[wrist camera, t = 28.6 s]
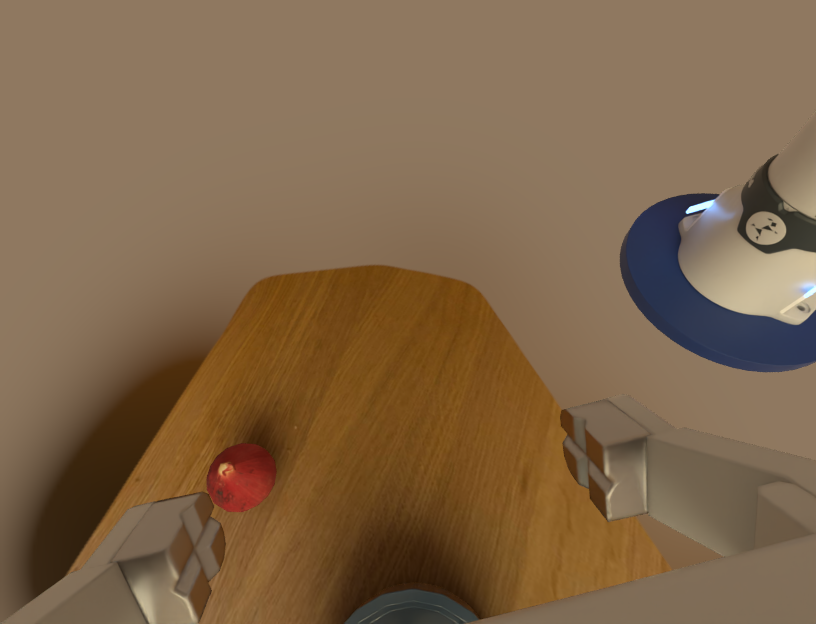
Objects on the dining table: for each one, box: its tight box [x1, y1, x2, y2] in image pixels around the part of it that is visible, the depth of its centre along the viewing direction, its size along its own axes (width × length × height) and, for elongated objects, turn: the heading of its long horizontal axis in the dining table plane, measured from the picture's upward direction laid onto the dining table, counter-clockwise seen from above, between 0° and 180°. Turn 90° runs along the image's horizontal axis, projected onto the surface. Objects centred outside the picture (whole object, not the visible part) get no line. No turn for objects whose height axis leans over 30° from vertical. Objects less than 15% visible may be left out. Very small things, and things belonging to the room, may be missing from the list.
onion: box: [207, 443, 277, 512], centre depth 36 cm, size 6×6×8 cm
